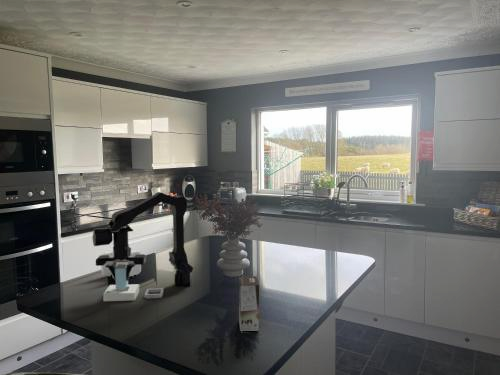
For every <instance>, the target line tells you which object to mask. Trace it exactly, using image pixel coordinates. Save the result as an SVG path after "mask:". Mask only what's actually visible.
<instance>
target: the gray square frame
mask: <svg viewBox="0 0 500 375" xmlns="http://www.w3.org/2000/svg"><path fill="white" fill-rule="evenodd" d="M164 293H165V288H161V287H160V288H147V289H146V290H145V293H144V299H162V298H163V296H164Z"/></svg>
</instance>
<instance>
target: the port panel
mask: <svg viewBox="0 0 500 375" xmlns="http://www.w3.org/2000/svg"><path fill="white" fill-rule="evenodd" d="M139 293H140V284H137V283H135V284H134V283H133V284H128V286H127V287H126V288H116V284H109V285H108V287H107V288H106V290H105V291H104V292H103V294H102V295H103V302H116V301H117V302H121V301H122V302H123V301H125V302H127V301H136V298H137V297H138V294H139Z"/></svg>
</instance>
